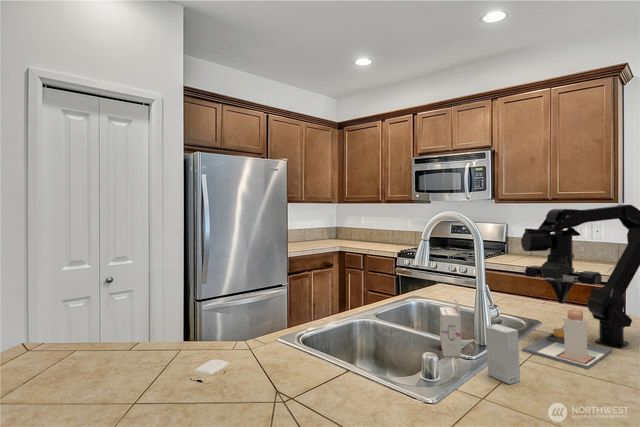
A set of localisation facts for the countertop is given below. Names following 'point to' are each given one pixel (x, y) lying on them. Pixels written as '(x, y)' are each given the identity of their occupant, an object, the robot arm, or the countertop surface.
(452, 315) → the ink cartridge box
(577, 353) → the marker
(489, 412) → the countertop surface
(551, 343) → the grey flat board
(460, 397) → the countertop surface
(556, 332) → the button
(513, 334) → the skincare box
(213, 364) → the soap
